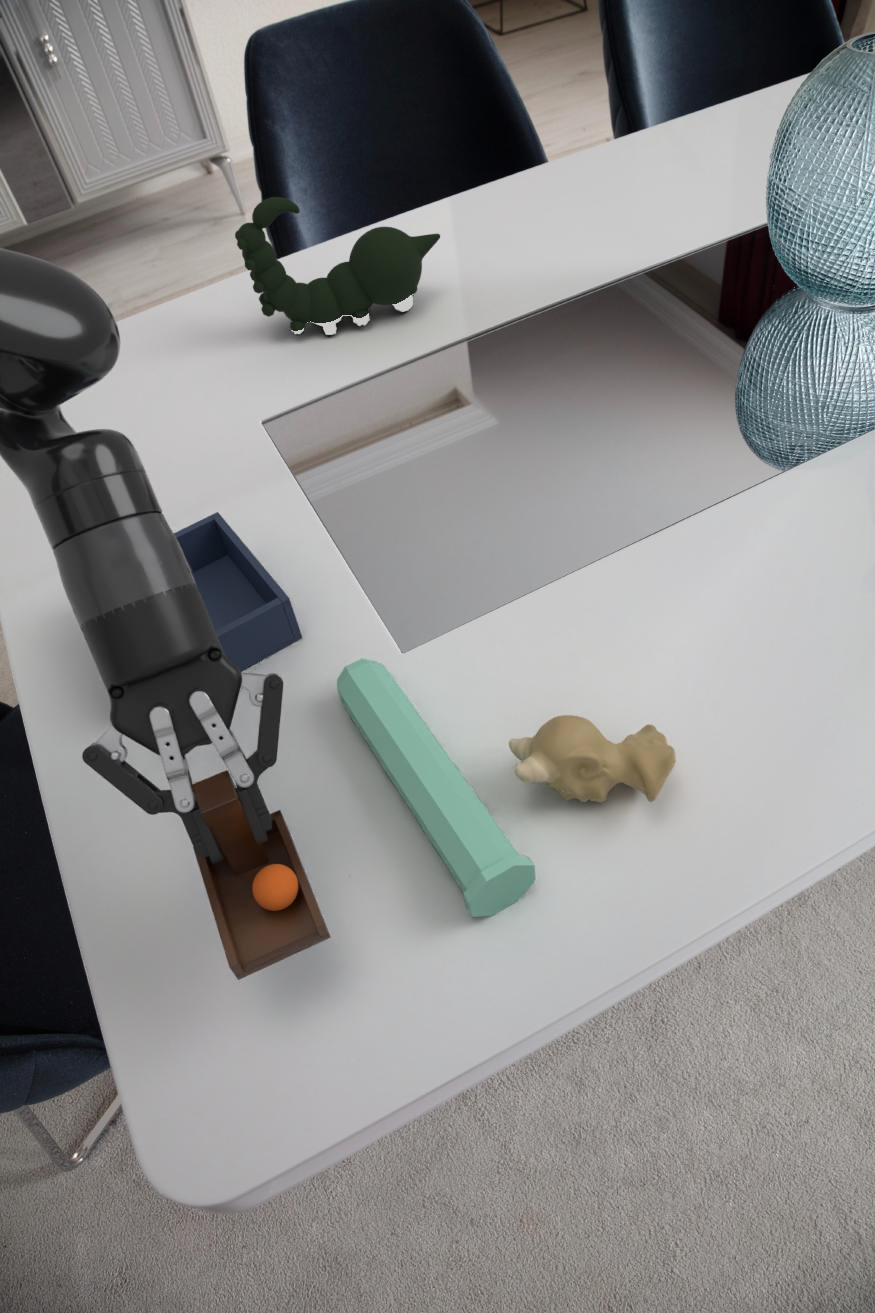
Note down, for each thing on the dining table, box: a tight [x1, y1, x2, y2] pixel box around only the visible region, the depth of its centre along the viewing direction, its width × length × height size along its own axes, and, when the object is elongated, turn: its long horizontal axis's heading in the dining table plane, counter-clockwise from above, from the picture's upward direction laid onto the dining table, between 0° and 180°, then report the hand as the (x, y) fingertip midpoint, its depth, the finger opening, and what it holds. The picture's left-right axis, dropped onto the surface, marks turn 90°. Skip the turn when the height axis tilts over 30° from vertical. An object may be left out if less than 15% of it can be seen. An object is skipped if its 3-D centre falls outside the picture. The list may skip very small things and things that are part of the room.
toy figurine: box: [234, 196, 441, 331], centre depth 118 cm, size 9×19×25 cm
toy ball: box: [252, 864, 298, 911], centre depth 61 cm, size 3×3×3 cm
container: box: [336, 658, 536, 918], centre depth 75 cm, size 6×6×25 cm
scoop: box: [192, 769, 331, 981], centre depth 60 cm, size 10×6×9 cm
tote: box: [173, 511, 303, 673], centre depth 89 cm, size 16×16×6 cm
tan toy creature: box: [508, 714, 677, 803], centre depth 73 cm, size 8×7×12 cm
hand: (240, 848), depth 60 cm, fingers closed on scoop, 2 cm apart
